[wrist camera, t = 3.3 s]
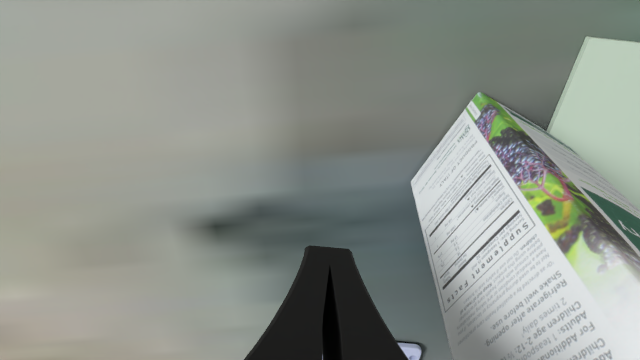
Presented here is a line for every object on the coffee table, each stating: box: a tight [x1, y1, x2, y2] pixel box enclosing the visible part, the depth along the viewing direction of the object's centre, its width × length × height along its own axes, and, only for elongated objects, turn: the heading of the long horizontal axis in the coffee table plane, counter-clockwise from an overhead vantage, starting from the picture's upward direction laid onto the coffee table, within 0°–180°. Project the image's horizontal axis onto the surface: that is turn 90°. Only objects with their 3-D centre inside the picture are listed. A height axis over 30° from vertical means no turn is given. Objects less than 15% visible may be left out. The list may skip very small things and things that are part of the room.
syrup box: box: [411, 92, 640, 360], centre depth 14 cm, size 6×6×14 cm
